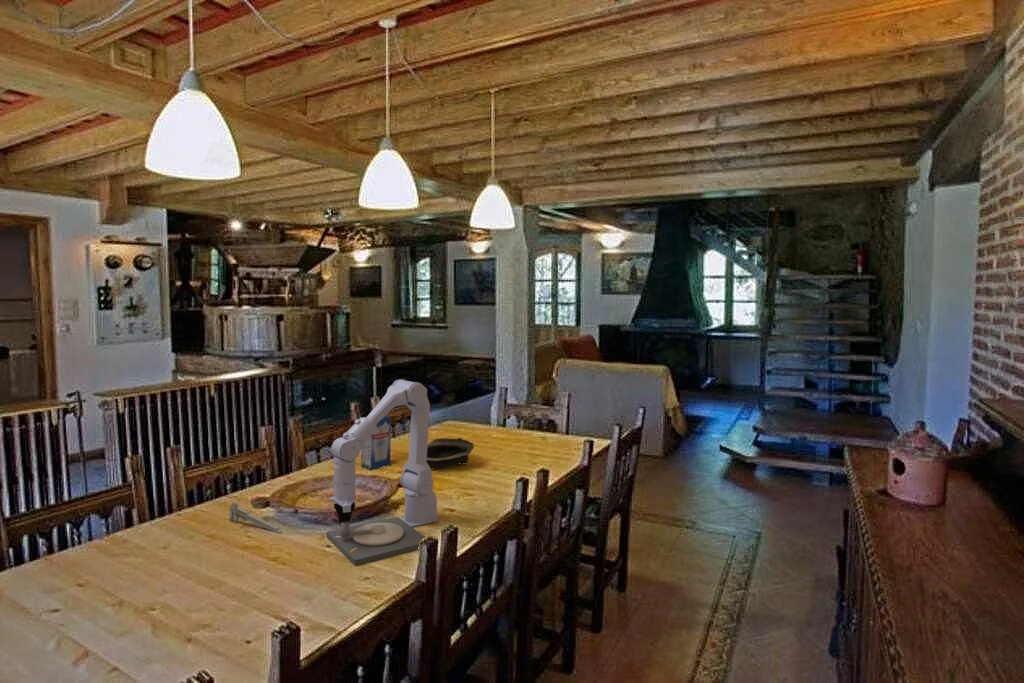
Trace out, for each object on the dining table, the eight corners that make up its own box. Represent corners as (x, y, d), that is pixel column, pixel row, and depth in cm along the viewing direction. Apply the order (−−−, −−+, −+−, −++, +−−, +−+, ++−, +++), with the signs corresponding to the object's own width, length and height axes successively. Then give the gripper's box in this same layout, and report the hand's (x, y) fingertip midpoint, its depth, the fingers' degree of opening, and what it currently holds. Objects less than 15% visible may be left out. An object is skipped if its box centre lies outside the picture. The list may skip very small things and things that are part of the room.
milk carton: (371, 470, 237) (371, 420, 235) (361, 467, 241) (361, 418, 239) (390, 465, 245) (390, 416, 243) (380, 462, 249) (380, 414, 247)
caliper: (229, 522, 182) (228, 502, 182) (232, 521, 183) (231, 501, 183) (279, 534, 174) (279, 513, 173) (282, 533, 175) (282, 512, 174)
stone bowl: (478, 457, 258) (478, 437, 257) (468, 479, 233) (468, 456, 232) (421, 454, 260) (421, 433, 259) (406, 475, 236) (406, 453, 234)
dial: (398, 523, 178) (398, 508, 178) (407, 541, 165) (407, 525, 165) (338, 530, 172) (338, 514, 172) (342, 550, 159) (342, 532, 159)
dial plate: (397, 521, 185) (397, 515, 184) (431, 546, 167) (431, 540, 167) (326, 536, 172) (326, 531, 172) (354, 565, 154) (354, 559, 154)
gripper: (328, 474, 172) (327, 521, 173) (331, 490, 158) (331, 540, 159) (353, 473, 174) (353, 518, 175) (358, 488, 161) (358, 537, 162)
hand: (344, 528), depth 168 cm, fingers closed
